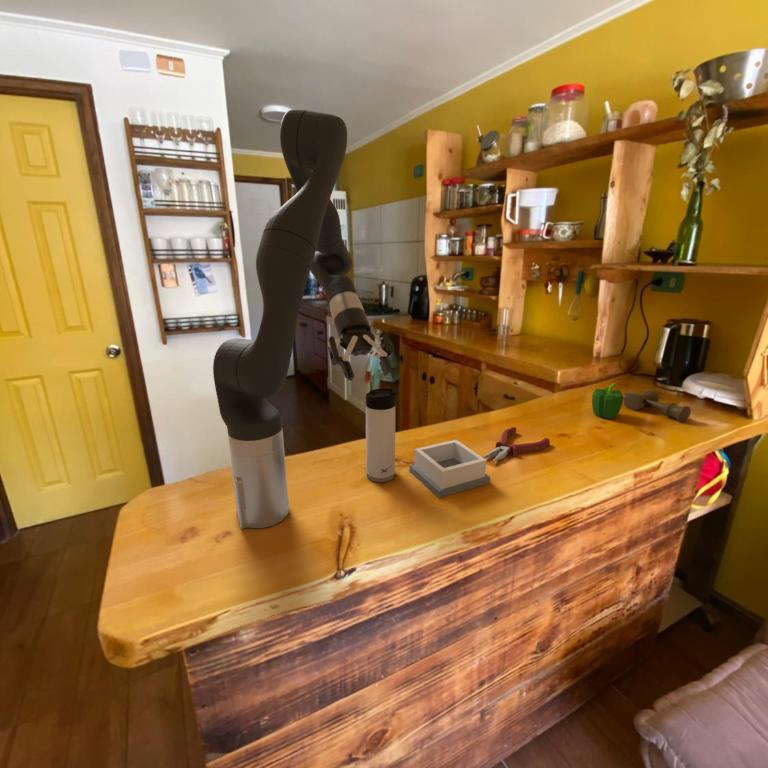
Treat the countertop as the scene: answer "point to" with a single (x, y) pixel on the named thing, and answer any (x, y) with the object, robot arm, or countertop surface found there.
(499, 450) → the pliers
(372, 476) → the travel mug
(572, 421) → the countertop surface
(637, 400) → the kendama
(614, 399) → the bell pepper
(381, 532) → the countertop surface
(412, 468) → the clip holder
